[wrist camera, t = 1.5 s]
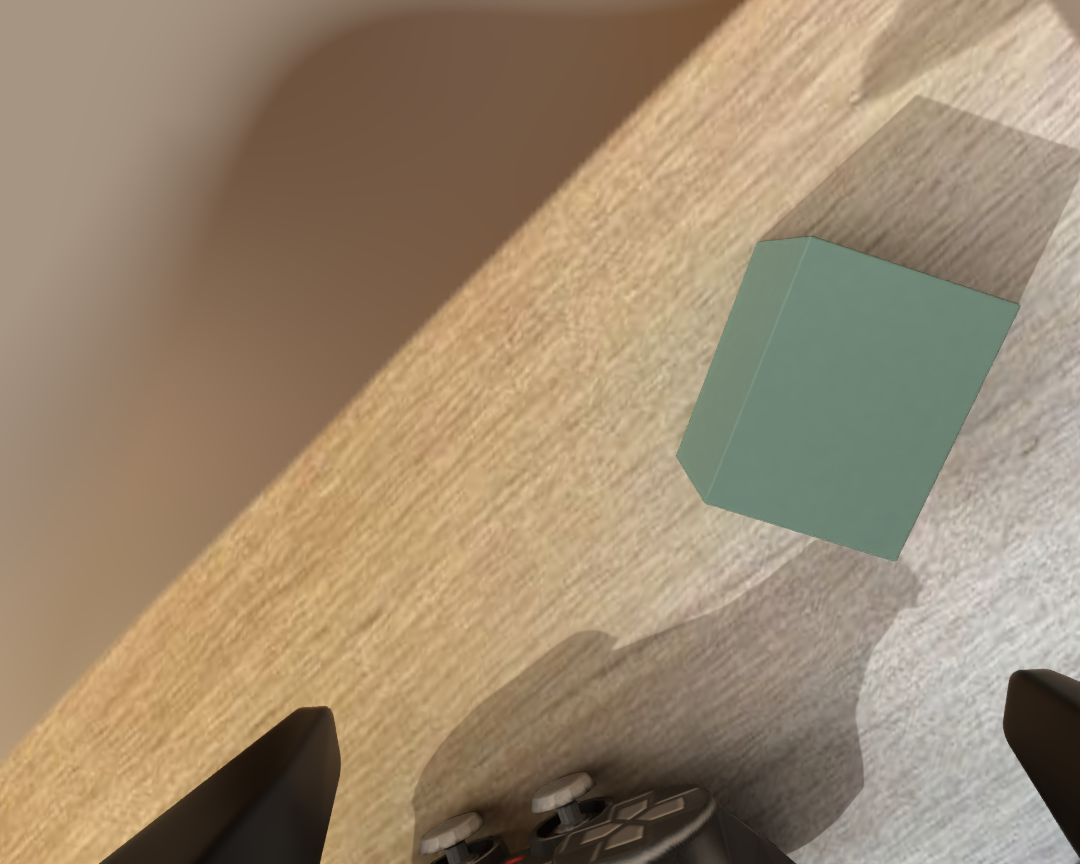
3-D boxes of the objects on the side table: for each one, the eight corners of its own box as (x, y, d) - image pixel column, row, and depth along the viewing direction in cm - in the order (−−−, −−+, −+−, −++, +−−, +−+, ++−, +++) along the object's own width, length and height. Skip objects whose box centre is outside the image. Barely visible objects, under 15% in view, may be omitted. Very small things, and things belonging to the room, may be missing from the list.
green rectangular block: (925, 296, 18) (1022, 304, 15) (831, 504, 20) (896, 562, 16) (757, 241, 18) (810, 235, 14) (675, 456, 20) (703, 503, 16)
